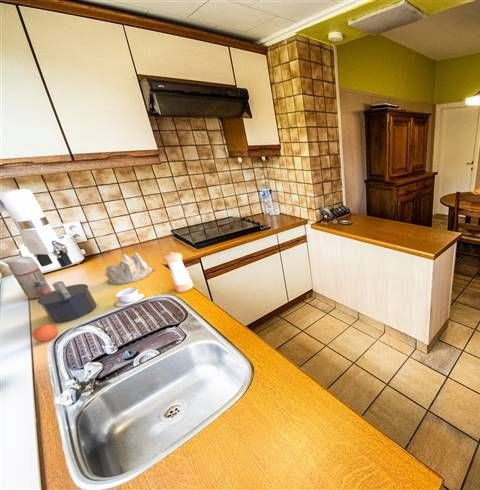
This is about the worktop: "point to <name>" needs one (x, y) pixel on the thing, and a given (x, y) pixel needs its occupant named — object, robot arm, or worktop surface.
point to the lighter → (41, 288)
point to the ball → (45, 332)
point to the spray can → (26, 274)
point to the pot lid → (62, 293)
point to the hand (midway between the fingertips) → (57, 265)
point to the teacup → (128, 297)
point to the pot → (71, 308)
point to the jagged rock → (128, 270)
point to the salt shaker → (178, 272)
